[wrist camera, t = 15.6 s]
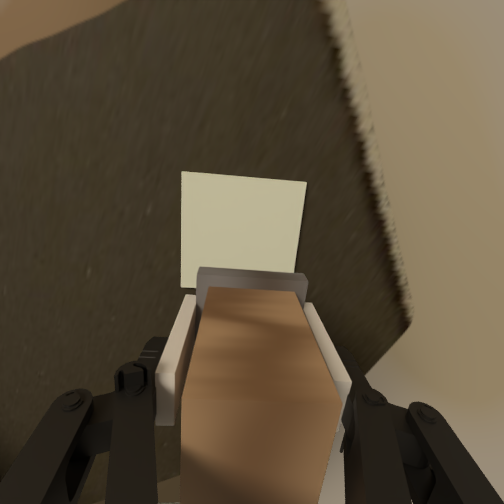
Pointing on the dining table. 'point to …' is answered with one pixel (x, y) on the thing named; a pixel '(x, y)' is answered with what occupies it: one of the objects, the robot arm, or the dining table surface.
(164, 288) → the dining table surface
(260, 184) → the sage mat
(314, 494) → the brown boxy piece
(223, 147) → the dining table surface
